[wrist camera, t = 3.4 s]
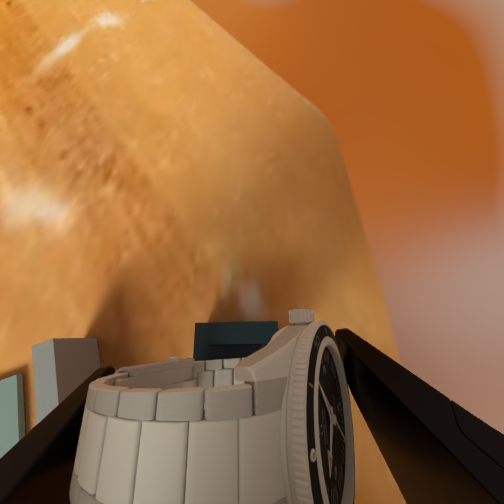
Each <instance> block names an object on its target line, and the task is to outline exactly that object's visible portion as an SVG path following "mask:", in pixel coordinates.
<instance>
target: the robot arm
mask: <svg viewBox="0 0 504 504" xmlns="http://www.w3.org/2000/svg"><path fill="white" fill-rule="evenodd" d="M335 338H336V341H337V343H338V346H339V349H340V353H341V356H342V360H343V364H344V369H345V373H346V379H347V383H348V386H349V388H350V391H351V393H352V395H353V397H354V399H355V401H356V403H357V405H358V407H359V409H360V411H361V413H362V415H363V417H364V419H365V421H366V423H367V425H368V427H369V429H370V431H371V433H372V435H373V437H374V439H375V441H376V443H377V445H378V447H379V449H380V451H381V453H382V455H383V457H384V459H385V461H386V463H387V465H388V467H389V469H390V471H391V473H392V475H393V477H394V479H395V481H396V483H397V485H398V487H399V489H400V491H401V493H402V495H403V497H404V499H405V501H406V503H407V504H504V434H502V433H500V432H499V431H497V430H495V429H494V428H492V427H491V426H489V425H488V424H486V423H484V422H483V421H482V420H480V419H479V418H477V417H476V416H474V415H473V414H471V413H470V412H468V411H467V410H465V409H464V408H462V407H461V406H459V405H458V404H456V403H455V402H453V401H450V400H449V398H448V397H446V396H445V395H443V394H442V393H440V392H439V391H437V390H436V389H435V388H433V387H432V386H430V385H429V384H427V383H426V382H424V381H423V380H421V379H420V378H418V377H417V376H416V375H414V374H413V373H411V372H410V371H408V370H407V369H405V368H404V367H403V366H401V365H400V364H398V363H397V362H395V361H394V360H392V359H391V358H390V357H388V356H387V355H385V354H384V353H382V352H381V351H379V350H378V349H376V348H375V347H374V346H372V345H371V344H369V343H368V342H366V341H365V340H363V339H362V338H361V337H359V336H358V335H356V334H355V333H353V332H352V331H350V330H349V329H347V328H344V329H338V330H336V332H335ZM114 373H115V370H114V368H113V367H112V366H105V367H100V368H98V369H97V370H96V371H94V372H93V373H92V374H91V375H90V376H89V377H88V378H87V379H86V380H85V381H84V382H83V383H81V384H80V385H79V386H78V387H77V388H76V389H75V390H74V391H73V392H72V393H71V394H70V395H68V396H67V397H66V398H65V399H64V400H63V401H62V402H61V403H60V404H59V405H58V406H57V407H55V408H54V409H53V410H52V411H51V412H50V413H49V414H48V415H47V416H46V417H45V418H43V419H42V420H41V421H40V422H39V423H38V424H37V425H36V426H35V427H34V428H33V429H32V430H30V431H29V432H28V433H27V434H26V435H25V436H24V437H23V438H22V439H21V440H20V441H19V442H17V443H16V444H15V445H14V446H13V447H12V448H11V449H10V450H9V451H8V452H7V453H6V454H4V455H3V456H2V457H1V458H0V504H71V502H70V494H69V492H70V484H71V479H72V473H73V468H74V463H75V457H76V452H77V447H78V441H79V436H80V431H81V425H82V420H83V415H84V409H85V404H86V399H87V393H88V388H89V384H90V383H91V382H93V381H96V379H99V378H102V377H106V376H109V375H113V374H114Z"/></svg>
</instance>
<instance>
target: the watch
mask: <svg viewBox="0 0 504 504" xmlns="http://www.w3.org/2000/svg"><path fill="white" fill-rule="evenodd" d="M288 315H289V323H291V324H294V325H291V326H286V327H284V328H282V329H280V330H279V331H278V323H277V321H267V322H219V323H195V337H194V354H193V359H190V358H187V359H179V357H170V358H168V361H162V362H154V363H147V364H141V365H134V366H128V367H122V368H119V369H117V370H116V371H115V373H114V374H113V375H109V376H106V377H102V378H99V379H96V381H93V382H91V383H90V384H89V388H88V393H87V399H86V404H85V409H84V415H83V420H82V425H81V431H80V436H79V441H78V447H77V452H76V457H75V463H74V468H73V473H72V479H71V484H70V492H69V494H70V502H71V504H354V497H355V455H354V436H353V424H352V414H351V405H350V397H349V390H348V384H347V379H346V373H345V369H344V364H343V360H342V356H341V353H340V349H339V346H338V343H337V341H336V338H335V336H334V334H333V332H332V330H331V329H330V327H329V326H328V325H327V324H326V323H325V322H322V321H321V322H314V314H313V310H311V309H293V310H289V311H288Z"/></svg>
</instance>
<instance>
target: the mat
mask: <svg viewBox="0 0 504 504" xmlns="http://www.w3.org/2000/svg"><path fill="white" fill-rule="evenodd" d="M24 436H25V415H24V392H23V373H22V374H16V375H14V376H11V377H8V378H6V379H3V380H0V458H1V457H2V456H3V455H4V454H6V453H7V452H8V451H9V450H10V449H11V448H12V447H13V446H14V445H15V444H16V443H17V442H19V441H20V440H21V439H22V438H23V437H24Z"/></svg>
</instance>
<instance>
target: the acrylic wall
mask: <svg viewBox="0 0 504 504" xmlns="http://www.w3.org/2000/svg"><path fill="white" fill-rule="evenodd" d="M32 357H33V375H34V393H35V411H36V425H37V424H38V423H39V422H40V421H41V420H42V419H43V418H45V417H46V416H47V415H48V414H49V413H50V412H51V411H52V410H53V409H54V408H55V407H57V406H58V405H59V404H60V403H61V402H62V401H63V400H64V399H65V398H66V397H67V396H68V395H70V394H71V393H72V392H73V391H74V390H75V389H76V388H77V387H78V386H79V385H80V384H81V383H83V382H84V381H85V380H86V379H87V378H88V377H89V376H90V375H91V374H92V373H93V372H94V371H96V370H97V369H98V368H100V367H101V365H100V358H99V351H98V344H97V338H61V339H51V340H48V341H45V342H42V343H39V344H37V345H34V346H32Z"/></svg>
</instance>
